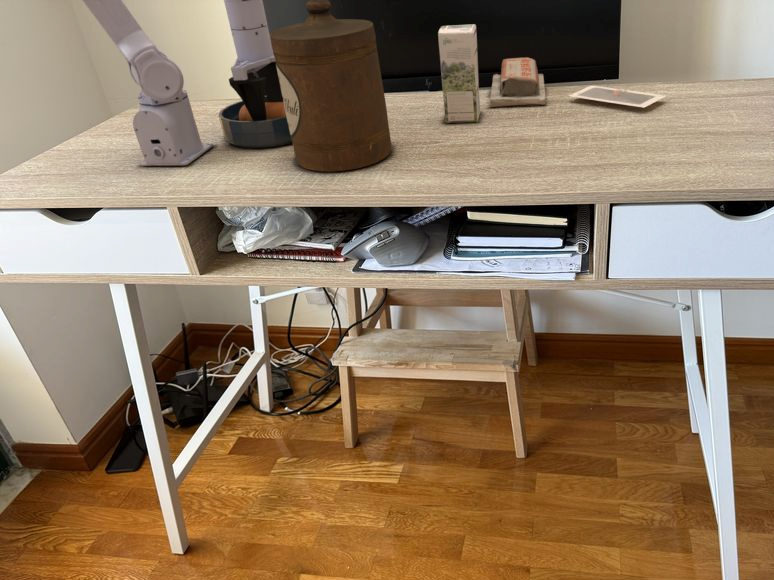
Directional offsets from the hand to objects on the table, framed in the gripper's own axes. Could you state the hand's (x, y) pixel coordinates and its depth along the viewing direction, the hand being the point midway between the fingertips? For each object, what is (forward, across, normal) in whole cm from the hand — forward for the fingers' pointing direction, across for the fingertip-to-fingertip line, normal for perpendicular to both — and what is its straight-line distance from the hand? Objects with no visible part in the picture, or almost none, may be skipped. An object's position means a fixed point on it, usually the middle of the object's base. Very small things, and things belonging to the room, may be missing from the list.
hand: (269, 114), depth 114 cm
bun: (+3, 0, 0) cm, 3 cm away
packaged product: (+3, +22, -40) cm, 46 cm away
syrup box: (+3, +7, -32) cm, 33 cm away
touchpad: (+3, +15, -58) cm, 60 cm away
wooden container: (+3, -11, -16) cm, 20 cm away
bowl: (+3, 0, 0) cm, 3 cm away
